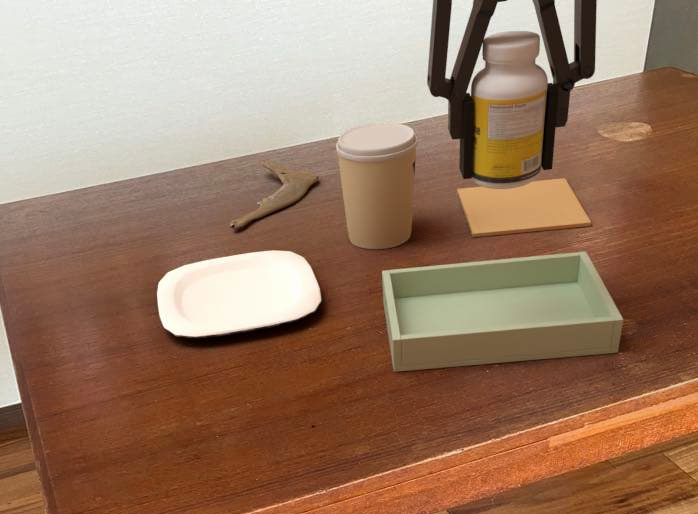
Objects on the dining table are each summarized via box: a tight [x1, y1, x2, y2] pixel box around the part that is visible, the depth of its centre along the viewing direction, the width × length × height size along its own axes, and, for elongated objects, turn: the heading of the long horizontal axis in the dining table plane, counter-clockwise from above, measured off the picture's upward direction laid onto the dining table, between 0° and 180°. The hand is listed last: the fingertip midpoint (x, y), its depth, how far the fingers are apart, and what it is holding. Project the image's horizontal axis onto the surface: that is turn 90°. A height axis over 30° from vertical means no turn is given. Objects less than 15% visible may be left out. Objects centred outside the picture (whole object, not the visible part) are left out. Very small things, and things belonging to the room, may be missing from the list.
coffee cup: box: [335, 122, 418, 250], centre depth 106 cm, size 9×9×12 cm
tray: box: [381, 251, 624, 373], centre depth 90 cm, size 22×15×4 cm
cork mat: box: [457, 177, 592, 238], centre depth 111 cm, size 14×14×1 cm
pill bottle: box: [470, 30, 549, 189], centre depth 78 cm, size 6×6×12 cm
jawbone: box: [229, 159, 319, 230], centre depth 120 cm, size 9×20×2 cm, turn 169°
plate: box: [156, 249, 322, 339], centre depth 100 cm, size 18×18×2 cm
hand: (505, 168), depth 81 cm, fingers closed on pill bottle, 6 cm apart
